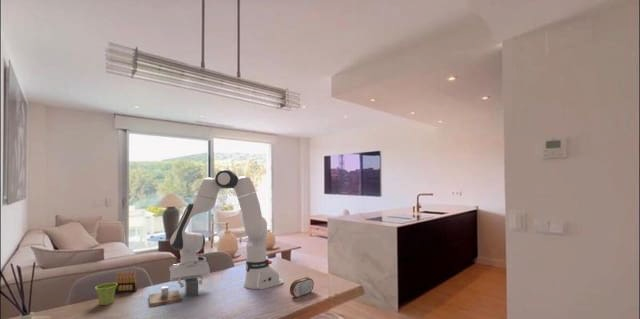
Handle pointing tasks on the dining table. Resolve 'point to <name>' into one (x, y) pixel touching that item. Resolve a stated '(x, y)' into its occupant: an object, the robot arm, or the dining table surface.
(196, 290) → the grey square block
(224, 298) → the dining table surface
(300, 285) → the tin
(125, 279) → the brown slatted box
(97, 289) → the plant pot
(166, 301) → the base plate
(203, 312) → the dining table surface
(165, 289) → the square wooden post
